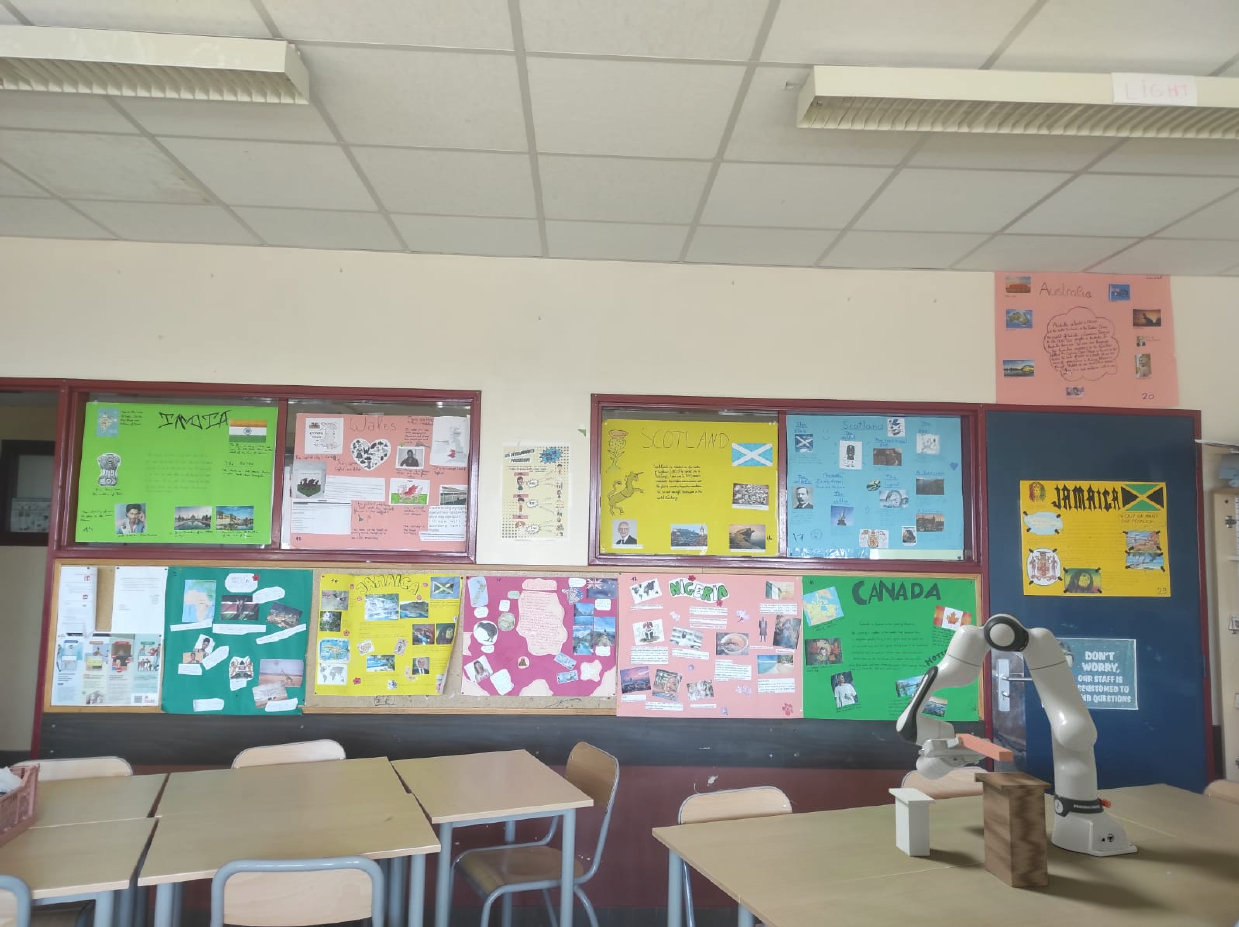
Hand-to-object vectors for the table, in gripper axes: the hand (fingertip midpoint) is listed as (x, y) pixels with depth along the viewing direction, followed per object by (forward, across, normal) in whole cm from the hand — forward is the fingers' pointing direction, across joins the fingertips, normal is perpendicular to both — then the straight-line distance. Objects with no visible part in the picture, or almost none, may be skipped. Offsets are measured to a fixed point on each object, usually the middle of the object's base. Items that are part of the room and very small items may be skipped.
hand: (969, 739), depth 239 cm
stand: (-16, -18, +26) cm, 36 cm away
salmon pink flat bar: (+5, 0, +5) cm, 7 cm away
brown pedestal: (+3, 0, +37) cm, 37 cm away
